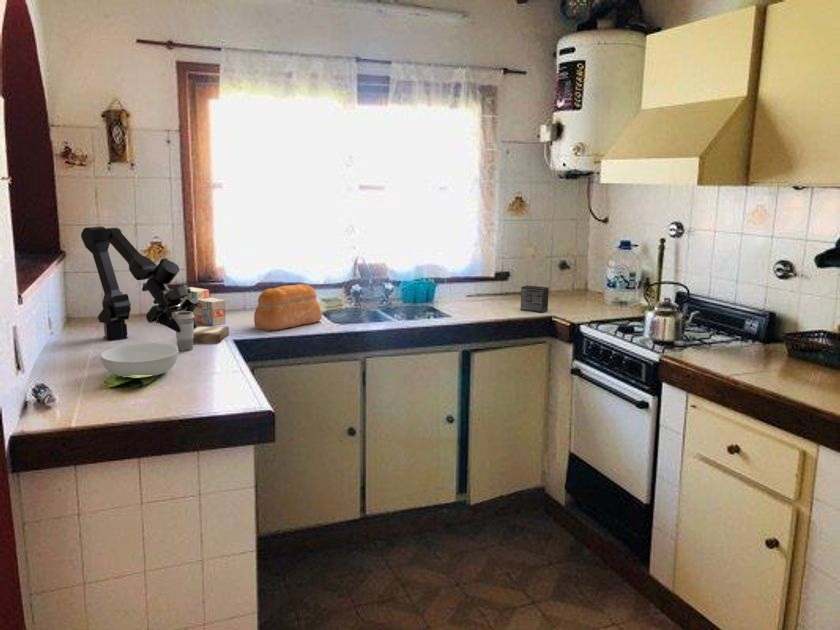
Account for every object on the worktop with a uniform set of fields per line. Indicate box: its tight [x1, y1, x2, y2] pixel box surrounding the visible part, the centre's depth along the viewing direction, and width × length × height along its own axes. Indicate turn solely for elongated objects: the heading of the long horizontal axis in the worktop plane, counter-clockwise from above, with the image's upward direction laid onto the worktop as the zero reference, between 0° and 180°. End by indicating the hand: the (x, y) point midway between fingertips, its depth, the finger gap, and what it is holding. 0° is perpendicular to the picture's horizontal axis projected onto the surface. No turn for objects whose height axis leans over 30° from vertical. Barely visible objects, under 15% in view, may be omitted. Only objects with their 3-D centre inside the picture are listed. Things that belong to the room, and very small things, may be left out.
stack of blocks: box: [178, 286, 227, 326], centre depth 273 cm, size 21×6×12 cm, turn 54°
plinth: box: [193, 325, 230, 344], centre depth 245 cm, size 12×12×3 cm
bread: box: [253, 283, 323, 331], centre depth 268 cm, size 14×26×15 cm, turn 140°
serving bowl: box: [100, 342, 180, 377], centre depth 201 cm, size 21×21×7 cm
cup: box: [172, 311, 195, 351], centre depth 229 cm, size 7×7×12 cm
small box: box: [520, 284, 549, 314], centre depth 301 cm, size 11×6×10 cm, turn 58°
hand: (187, 329), depth 228 cm, fingers closed on cup, 6 cm apart
